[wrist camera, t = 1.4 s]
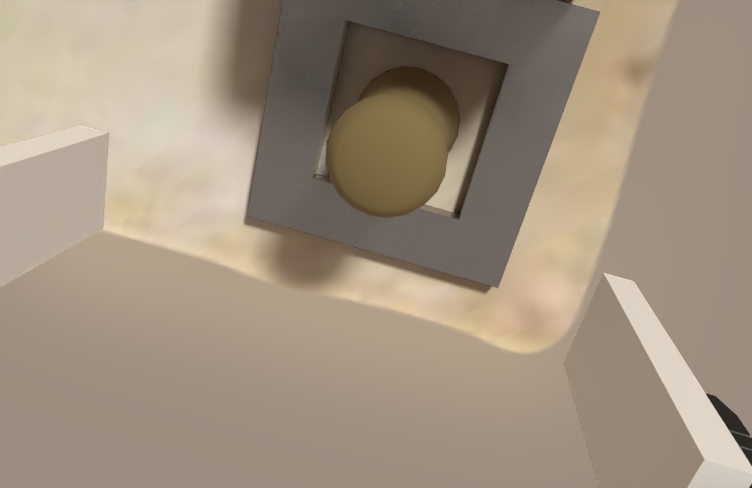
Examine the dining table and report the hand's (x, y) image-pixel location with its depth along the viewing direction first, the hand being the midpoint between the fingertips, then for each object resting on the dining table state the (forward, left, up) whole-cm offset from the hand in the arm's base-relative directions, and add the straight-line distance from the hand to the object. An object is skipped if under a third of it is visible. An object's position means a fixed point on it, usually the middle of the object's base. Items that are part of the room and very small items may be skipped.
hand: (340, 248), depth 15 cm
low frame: (0, 0, -20) cm, 20 cm away
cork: (0, 0, -20) cm, 20 cm away
